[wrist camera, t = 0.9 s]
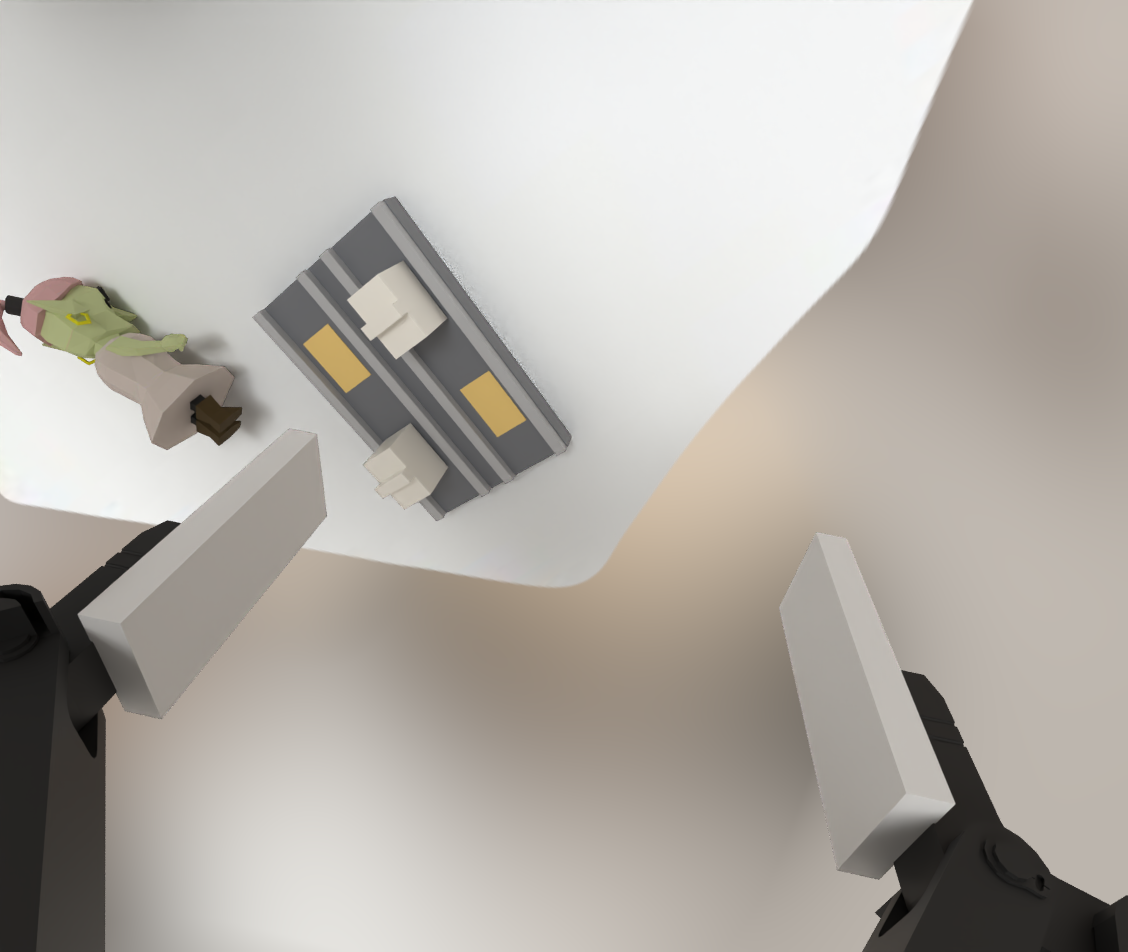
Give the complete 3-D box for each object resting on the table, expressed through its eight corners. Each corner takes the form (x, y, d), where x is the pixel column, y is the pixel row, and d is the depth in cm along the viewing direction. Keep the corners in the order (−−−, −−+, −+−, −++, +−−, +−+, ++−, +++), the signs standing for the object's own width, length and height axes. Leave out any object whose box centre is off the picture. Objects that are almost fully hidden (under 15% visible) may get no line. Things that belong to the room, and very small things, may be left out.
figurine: (268, 365, 39) (61, 214, 36) (180, 435, 34) (-63, 269, 32) (259, 427, 46) (84, 303, 43) (184, 493, 41) (-17, 359, 39)
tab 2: (385, 439, 40) (357, 471, 37) (410, 423, 39) (384, 453, 36) (423, 482, 42) (399, 516, 38) (448, 467, 41) (426, 500, 37)
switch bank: (270, 309, 38) (251, 318, 37) (395, 196, 33) (379, 201, 32) (445, 505, 45) (435, 521, 43) (571, 435, 40) (566, 450, 38)
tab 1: (374, 284, 35) (339, 303, 31) (403, 260, 34) (371, 277, 30) (418, 339, 36) (390, 364, 32) (447, 318, 35) (421, 341, 31)
